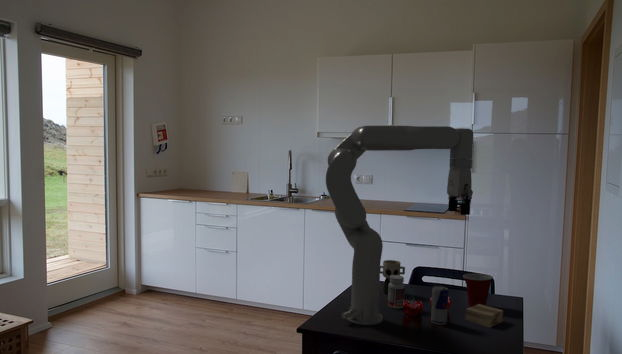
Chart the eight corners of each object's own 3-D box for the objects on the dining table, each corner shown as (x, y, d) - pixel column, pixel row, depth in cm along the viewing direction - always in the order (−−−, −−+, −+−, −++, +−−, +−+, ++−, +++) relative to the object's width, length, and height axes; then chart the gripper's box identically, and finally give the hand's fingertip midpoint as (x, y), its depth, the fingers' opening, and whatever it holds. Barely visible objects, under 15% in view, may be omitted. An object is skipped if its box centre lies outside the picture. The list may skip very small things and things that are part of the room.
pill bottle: (405, 305, 181) (406, 275, 180) (402, 310, 175) (403, 279, 175) (389, 302, 183) (390, 273, 183) (385, 307, 178) (386, 277, 177)
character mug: (378, 295, 193) (379, 263, 192) (376, 289, 200) (377, 259, 199) (405, 296, 192) (406, 264, 192) (403, 291, 199) (404, 260, 199)
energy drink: (447, 326, 160) (449, 290, 159) (431, 324, 161) (432, 289, 160) (446, 320, 165) (447, 286, 165) (430, 319, 166) (431, 285, 166)
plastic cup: (471, 300, 190) (472, 270, 189) (496, 307, 181) (498, 276, 181) (456, 305, 182) (457, 274, 182) (482, 312, 174) (483, 280, 174)
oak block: (489, 327, 159) (490, 315, 159) (465, 320, 166) (465, 308, 166) (502, 321, 165) (503, 310, 165) (478, 314, 172) (479, 303, 172)
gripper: (440, 163, 174) (438, 209, 175) (461, 164, 157) (459, 216, 158) (460, 163, 175) (458, 209, 176) (483, 165, 158) (480, 216, 159)
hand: (458, 212), depth 167 cm, fingers open, 9 cm apart
